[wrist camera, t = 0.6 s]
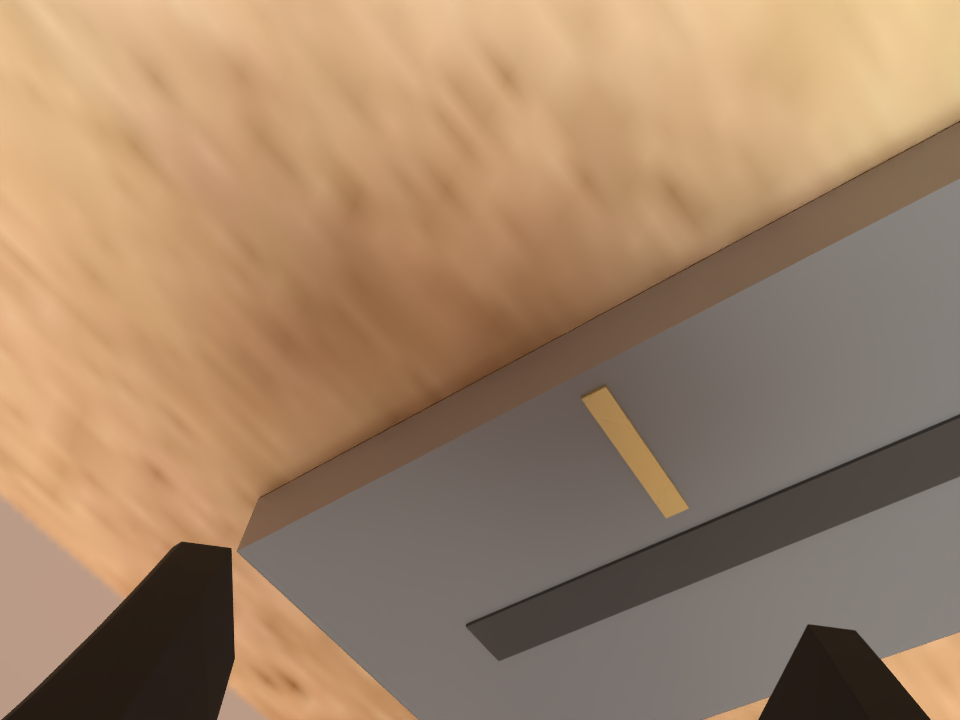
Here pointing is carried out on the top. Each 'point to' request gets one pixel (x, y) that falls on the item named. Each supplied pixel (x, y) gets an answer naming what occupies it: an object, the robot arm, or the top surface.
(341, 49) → the top surface
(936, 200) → the fader console
